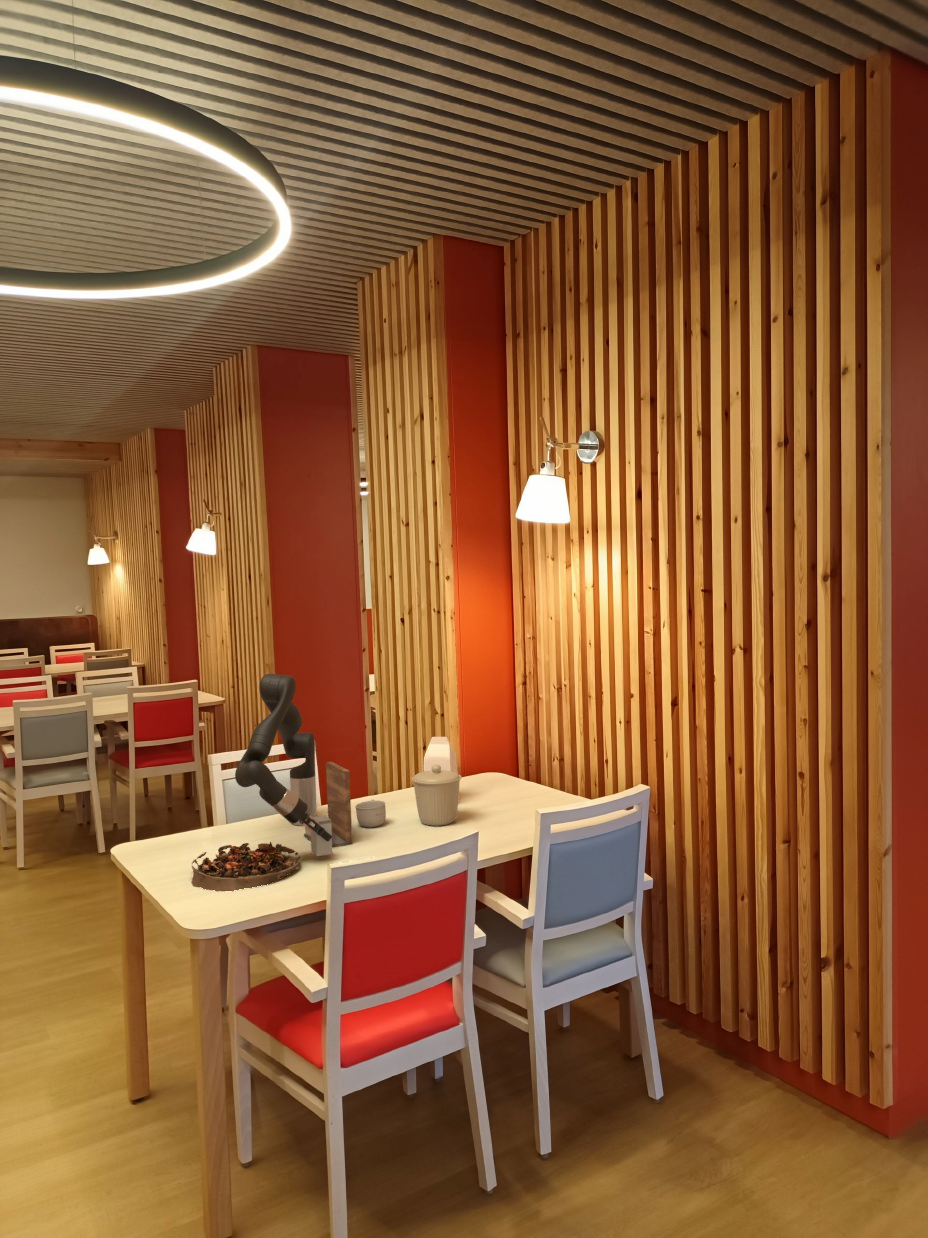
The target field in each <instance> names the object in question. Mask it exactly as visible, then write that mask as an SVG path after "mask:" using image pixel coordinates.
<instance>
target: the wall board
mask: <svg viewBox="0 0 928 1238" xmlns="http://www.w3.org/2000/svg"><path fill="white" fill-rule="evenodd" d="M325 769H326V793H327V795H326V796H327V797H326V798H327V817H328V818H329V819H331V829H332V849H333V848H338V847H344V846H350V845H353V834H352V833H353V831H352V829H353V828H352V827H353V826H352V807H351V806H352V805H351V804H352V803H351V801H352V799H351V779H350V778H351V777H350V776H351V774H350V770H349V769H346V768H344V767H342V766H341V765H339V764H338V763H335V762H333V761H327V762H325ZM304 829H305V830H304V833H303V837H304V838H305V839H307V840H308V841H310V843H311V830H309V829H308V828H307V827H304Z"/></svg>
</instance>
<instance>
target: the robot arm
mask: <svg viewBox="0 0 928 1238" xmlns="http://www.w3.org/2000/svg"><path fill="white" fill-rule="evenodd" d="M296 682H297V681H296V679H295V678H294V677H293V676H291V675H287V674H277V673H268V674H265V675H263V676H262V677H261V679H260V681H259V695H260V697H261V700H262V701H263V703H264V705H265V706H266V707H267V709H268V711H269V712H270V713H269V714H268V715H267V717H265V718H264V719H263V720H261V721H260V722H259V723H258V724H257V726H256V727H255V728H254V730H253V731H252V734H251V736H250V739H249V743H248V746H247V749H246V751H245V752H244V754H243V755H242V757H241V759H240V761H239V762H238V764H237V766H236V769H235V774H234V778H235V782H236V784H238V786H239V787H242V788H249V787H252V786H254V785H256V786H257V787H258V788H259V792H258V793H259V796H260V798H261V799H262V800H263V801H265V802H266V803H267V804H269V805H270V806H271V807H272V808H273V809H274V810H275V812H277V813H278V814H279V815H281V817H283V819H284V820H286V821H288V822H289V823H290V824H292V825H294V826H302V827H304V828H305V827H307V828H308V829H309V830H311V831H312V832H313V831H314V832H316V833H317V835H319V836H321V837H322V838H323V839H325V840H326V841H327V842H328V841H329V840H330V839H331V838H332V836H331V835H330V834H329V833H328V832H326V831H325V829H324V828H322V827H321V826H320V825H319V822H317V821H316V820H315V819H314V818H313V817H318V811H317V810H318V809H317V808H318V807H317V785H316V782H317V781H316V761H315V760H316V739H315V735H314V733H312V732H299V731H300V729H301V728H302V725H303V718H302V715H301V711H300V709H299V708H298V707H297V705H296V704H294V703H293V700H294V697H295V695H296V691H297V690H296V689H297V683H296ZM277 733H279V735H280V738H281V741H282V745H283V750H284V752H285V755H286V756H287V757H288V758H290V759H305V760H304V762H303V763H301V764H300V765H297V766H294V767H292V768H291V769H290V770H289V786H290V789H288V788H287V787H286V786H284V785H283V783H281V782H279V781H278V780H277V779H276V777H275V775H274V774H273V772H272V771H271V770H270V769H269V767H268V766H267V765H266V764H265V763H264V761H265V760H266V759H268V757H269V756H270V753H271V750H272V747H273V744H274V740H275V737H276V735H277ZM319 827H320V830H319V831H318V832H317V829H318V828H319Z"/></svg>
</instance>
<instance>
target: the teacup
mask: <svg viewBox="0 0 928 1238" xmlns="http://www.w3.org/2000/svg"><path fill="white" fill-rule="evenodd" d="M354 807H355V813H356V819H357V823H358V824H359V825H361V826H362V827H364V828H376V827H379V826H381V825H382V824H383V823H384V822H385V821H386V817H387V811H386V810H387V809H386V802H385V801H384V800H378V799H371V800H366V801H361V802H358V803H357V804H356V805H355V806H354Z"/></svg>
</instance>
